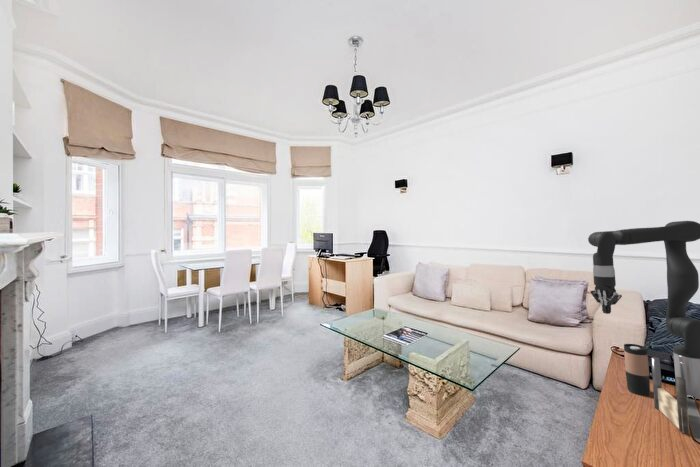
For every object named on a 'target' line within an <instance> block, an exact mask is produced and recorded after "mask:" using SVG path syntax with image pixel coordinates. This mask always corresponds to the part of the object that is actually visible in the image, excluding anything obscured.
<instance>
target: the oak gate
mask: <svg viewBox="0 0 700 467" xmlns="http://www.w3.org/2000/svg"><path fill="white" fill-rule="evenodd" d="M674 379H675V390H676V391H675V392H676V398H675V397H674V396H672V395H671V394H670V393H669V392H668V391H666V390H665V389H664V388H663V387H662V388H658V401H659V410H658V411H660V412H661V413H662V414H663V415H664V416H665V417H666V418H667V419H669V421H670V422H672V424H673V425H674V426H675V427H676V428H678V431H679V432H680V433H682V434H683V433H684V434H687V435H689V434H690V432H691V431H690V422H689V419H690V418H689V407H688V397H687V394H686V381H685V379H684V378H681V377H675V376H674Z"/></svg>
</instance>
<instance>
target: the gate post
mask: <svg viewBox="0 0 700 467" xmlns="http://www.w3.org/2000/svg"><path fill="white" fill-rule="evenodd" d="M650 361H651V362H650V363H651V374H652V387H653V388H652V389H653V400H654V403H653V404H654V408H655V409H656V410H658V411H660V410H659V401H658V388H662V389H663V386H662V385H663V384H662V374H661V373H662V372H661V360H660V358H659V357H654V356H653V357H650Z"/></svg>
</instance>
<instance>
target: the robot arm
mask: <svg viewBox="0 0 700 467" xmlns="http://www.w3.org/2000/svg"><path fill="white" fill-rule="evenodd" d="M587 240H588V243H589V244H590V245H591V246H593V247H594V248H595V247H597V249H596V252H595V253H593V255H592V263H593V264H592V266H593V268H592V272H593V273H592V276H593V284H594V289H593V290H590V294H591V295H592V297H593V298H594V300H595V301H596V303H597V304H598V303H599V304H601V311H602V313H603V314H606V315H608V314H610V315H611V313H612V305H616V304H617V303H618V301H620V299H622V297H623V295H622V294H619V293H618V292H617V290H616V288H615V287H616V285H617V283H616V272H615V267H614V266H615V265H614V253H615V249H616V246H627V245H637V244H639V245H640V244H646V243H654V242H664V243H663V245H664V249H665V257H666V258H665V259H666V282H667V305H666V306H667V307H666V314H665V328H666V330H667V332H668V333H669V334H671V335H672V336H675V337H679V338H682V339H684V343H683V344H676V345H673V347H672V349H673V350H672V352H673V363H674V365H673V366H674V375H675V376H674V378H675V377H681V378H684V379H685V381H686V394H687V395H691V396H694V397H695V398H698V399H700V320H699V319H695V318H692V317H687V315H686V314H687V313H686V312H687V311H686V310H687V305H688V302H690V300H691V299H692V298H693V297H694V296H695V295H696V293H697V292H698V290H699V287H700V283H699V282H700V280H699V277H700V276H699V272H698V270H697V268H696V266H695V265H694V263H693V261H692V260H691V258H690V257H689V255H688V251H687V243H691V242H692V243H693V242H695V241H698V240H700V223H699V222H697V221H694V220H680V221H671V222H668V223H667V224H665V226H656V227H655V226H654V227H653V226H652V227H639V228H638V227H637V228H636V227H635V228H625V229H617V230H610V231H609V230H607V231H595V232H593V233H591V234H590V235H588V238H587Z"/></svg>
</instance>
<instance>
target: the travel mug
mask: <svg viewBox="0 0 700 467" xmlns="http://www.w3.org/2000/svg"><path fill="white" fill-rule="evenodd" d="M647 348H648V347H646V346H644V345H641V344H635V343H624V344H623V352H624V356H623V357H624V367H625V368H624V369H625V370H624V371H625V378H626V386H627V390H628V391H629V392H630V393H632V394H635V395H638V396H641V397H642V396H645V397H648V396H650V394H651V386H650V384H651V382H650V380H651V379H650V368H649V356H648V355H649V354H648V349H647Z"/></svg>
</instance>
